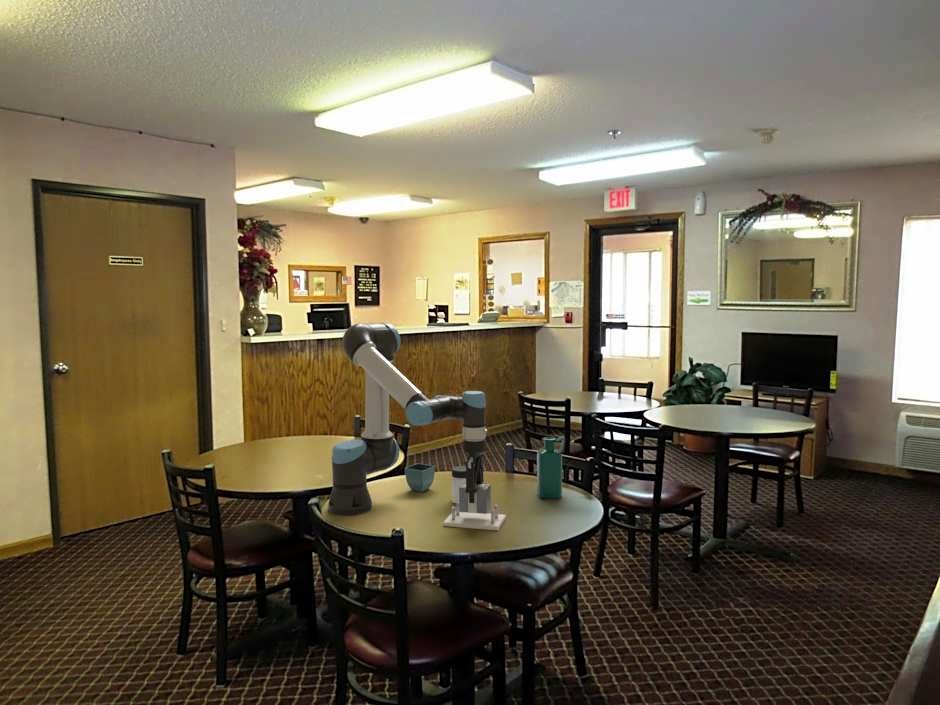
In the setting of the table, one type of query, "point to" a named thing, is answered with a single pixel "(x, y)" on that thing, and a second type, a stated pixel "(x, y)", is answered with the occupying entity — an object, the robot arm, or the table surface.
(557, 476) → the pitcher
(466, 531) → the table surface
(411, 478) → the flower pot
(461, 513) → the pin tray
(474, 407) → the robot arm
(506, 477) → the table surface
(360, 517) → the table surface
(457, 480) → the jar
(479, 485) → the block
